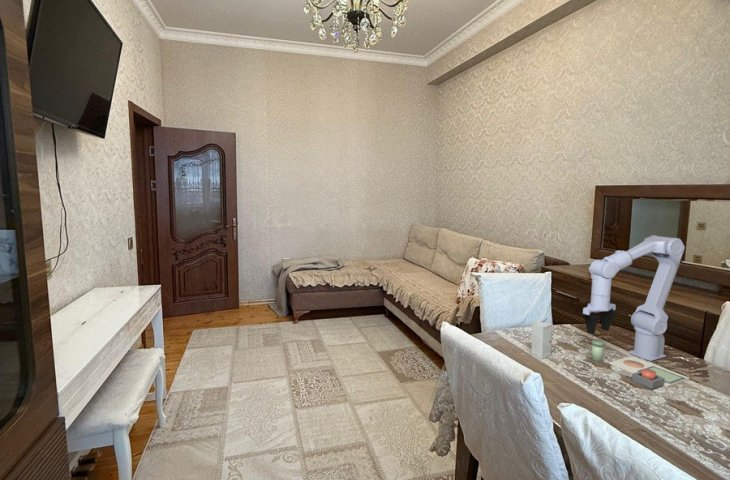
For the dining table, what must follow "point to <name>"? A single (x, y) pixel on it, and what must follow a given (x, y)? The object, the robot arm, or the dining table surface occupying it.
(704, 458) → the dining table surface
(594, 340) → the green cup
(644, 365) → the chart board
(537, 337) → the skincare box
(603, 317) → the robot arm
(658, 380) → the button housing
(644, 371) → the button
